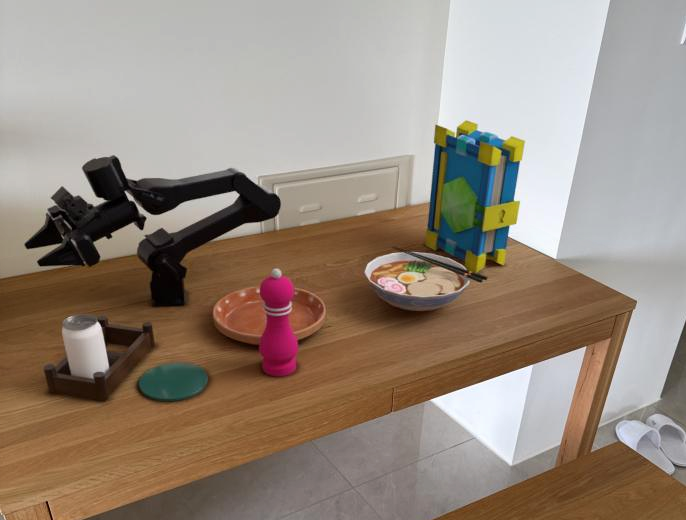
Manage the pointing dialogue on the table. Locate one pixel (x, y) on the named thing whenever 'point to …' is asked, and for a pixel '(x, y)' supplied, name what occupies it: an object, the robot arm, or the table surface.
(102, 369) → the can
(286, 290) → the pepper mill
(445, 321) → the table surface
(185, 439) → the table surface
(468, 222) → the decorative book
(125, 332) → the rack
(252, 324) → the saucer
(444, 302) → the ramen bowl
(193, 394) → the coaster
